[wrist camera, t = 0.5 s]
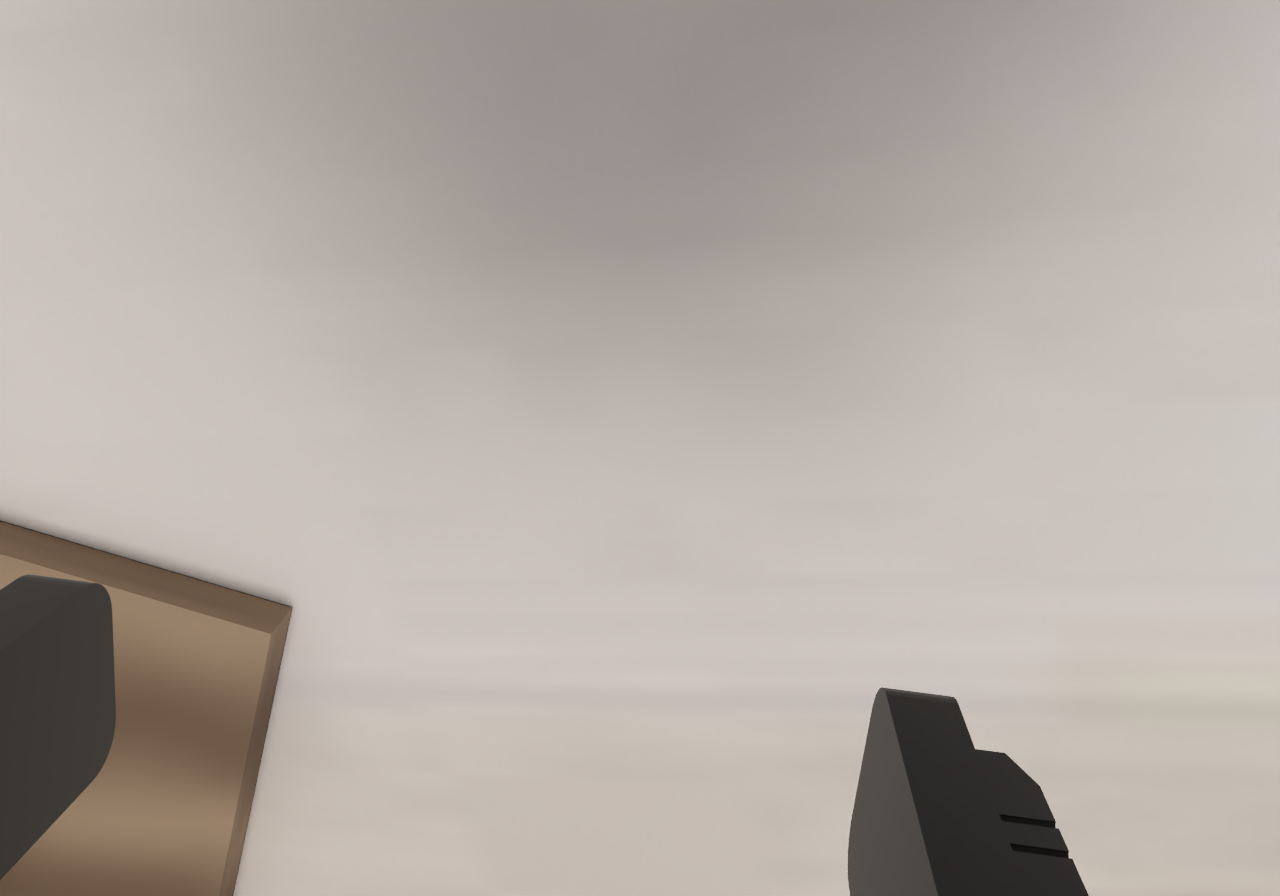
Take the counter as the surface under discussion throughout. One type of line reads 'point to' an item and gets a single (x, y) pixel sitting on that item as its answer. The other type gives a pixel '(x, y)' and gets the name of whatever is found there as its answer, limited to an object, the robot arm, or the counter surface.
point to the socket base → (160, 731)
